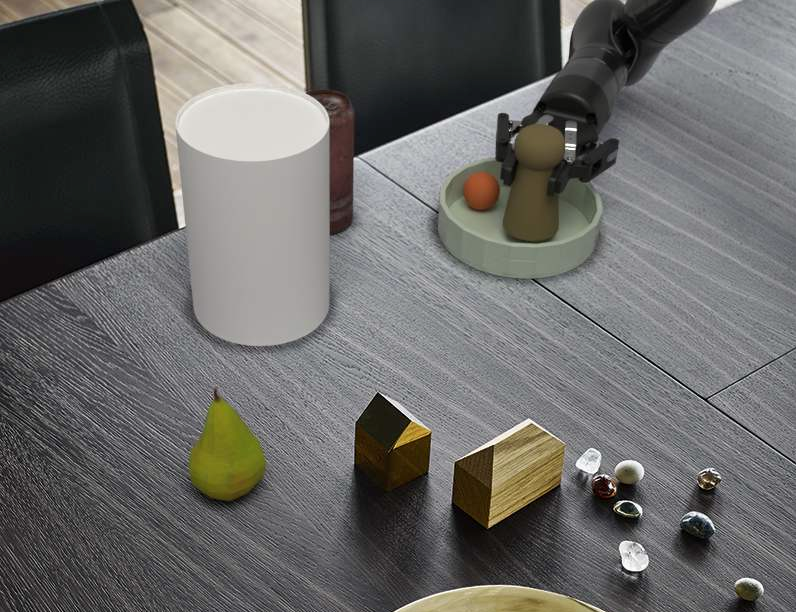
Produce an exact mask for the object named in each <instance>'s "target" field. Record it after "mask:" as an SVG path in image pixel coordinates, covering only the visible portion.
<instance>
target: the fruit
mask: <svg viewBox="0 0 796 612" xmlns="http://www.w3.org/2000/svg"><path fill="white" fill-rule="evenodd" d="M213 397H214V398H213V400H212V402H211V404H210V405H209V406H208V409H207V411H206V415H205V422H204V428H203V430H202V432H201V434H200V437H199V439H198V440H197V442H195V444H193V447H191V449H190V451H189V456H188V469H189V470H188V473H189V477H190V482H191V484H192V486H194V488H195V489H197V490H198V491H200V492H202V493H203V494H204V495H206V496H207V497H209V498H211V499H216V500H220V501H221V500H222V501H227V502H231V501H234V500H236V499H239V498H240V497H242V496H244V495H247V494H248V493H249V492H250V491H251V490H252V489H253V488H254V487H255V486H256V485H257V484H258V483H259V482H260V481H261V479H262V478H264V475H265V474H266V469H267V468H266V467H267V460H266V457H265V454H264V453H265V452H264V451H263V448H262V447H263V446H262V444H261V442H260V440H259V439H258V438H257V436H256V435H255V434H254V433H253V432H252V430H251V429H250V428H249V426H248V425H247V424H246V423H245V421H244V420H243V419H242V418H241V416H240V415H239V413H238V412H237V411H236V410H235V409H234V408H233V406H231V404H229V403H228V402H226V400H225V399H223V397H222V396H221V395H218V388H217V386H215V387H214V388H213Z"/></svg>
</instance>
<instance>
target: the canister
mask: <svg viewBox="0 0 796 612" xmlns="http://www.w3.org/2000/svg"><path fill="white" fill-rule="evenodd" d="M306 93H307V92H303V91H301V90H298V89H296V88H292V87H289V86H284V85H280V84H274V83H264V82H244V83H243V82H242V83H241V82H240V83H233V84H227V85H221V86H218V87H214V88H211V89H208V90H205V91H203V92H201V93H199V94H197V95H194V96H193V97H192V98H190V99H189V100H187V101H186V102H185V103H184V104H183V105H182V106H181V107H180V108H179V110H178V111H177V113H176V116H175V121H174V122H175V133H176V143H177V155H178V165H179V174H180V185H181V195H182V196H181V197H182V204H183V205H182V206H183V215H184V216H183V217H184V225H185V227H184V228H185V235H186V245H187V256H188V265H189V267H188V268H189V277H190V287H191V297H192V307H193V313H194V315H195V318H196V320H197V322H198V323H199V324H200V325H201V326H202V327H203V328H204V329H205V331H208V332H209V333H210V334H212V335H213V336H214V337H217V338H218V339H221V340H223V341H226V342H229V343H233V344H237V345H242V346H249V347H250V346H251V347H253V346H254V347H269V346H271V347H272V346H277V345H278V346H279V345H283V344H288V343H291V342H294V341H297V340H299V339H301V338H304V337H305V336H307V335H309V334H311V333H312V332H313V331H315V330H316V329H318V328H319V327H320V325H322V323H324V321H325V319H326V318H327V316H328V313H329V311H330V305H331V304H330V301H331V300H330V297H331V296H330V294H331V293H330V292H331V291H330V288H331V287H330V275H331V274H330V272H331V271H330V265H331V264H330V262H331V261H330V257H331V256H330V250H331V249H330V244H331V243H330V239H331V238H330V237H331V235H330V224H329V116H328V113H327V111H326V109H325V108H324V107H323V106H322V105H321V103H319V102H318V101H317V100H316V99H314V98H313V97H311V96H309V95H308V94H306Z"/></svg>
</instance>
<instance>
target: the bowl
mask: <svg viewBox="0 0 796 612" xmlns="http://www.w3.org/2000/svg"><path fill="white" fill-rule="evenodd" d="M502 163H503V162H497V161H496V160H495V157H488V158H482V159H478V160H476V161H473V162H470V163H467V164H464V165H462V166H460V167H459V168H457V169H456V170H454V171H452V172H451V173H450V174H449V175H447V177H446V179H444V182H443V183H442V185H441V187H440V188H439V198H438V213H437V233H438V236H439V239H440V241H441V243H442V245H443V246H444V247H445V249H446V250H447V251H448V252H449V253H450V254H451V255H452V256H453V257H454V258H456V259H457V260H458V261H460V262H461V263H463V264H465V265H466V266H468V267H471V268H473V269H476V270H477V271H480V272H483V273H486V274H489V275H494V276H499V277H504V278H509V279H519V280H520V279H523V280H525V279H526V280H528V279H530V280H532V279H543V278H548V277H549V278H550V277H554V276H558V275H562V274H565V273H568V272H570V271H572V270H575V269H576V268H578V267H579V266H581V265H582V264H583V263H585V262H586V261H587V260H588V259H589V258H590V257H591V256H592V254H593V252H594V250H595V248H596V245H597V242H598V240H599V233H600V229H601V223H602V218H603V213H604V210H603V203H602V196H601V195H600V194H599V192H598V190H596V188H595V186H594V185H593V184H592V183H591V181H590V182H588V183H583V182H581V181H579V178H572V181H570V182H568V184H567V185H566V187H565V189H564V191H563V192H562V193H560V194H558V201H559V230H558V231H557V233H556V234H555V235H553V236H552V237H551V238H548V239H545V240H539V241H528V240H522V239H519V238H516V237H514V236H512V235H510V234H509V233H508V232H507V231H506V230H505V229H504V227H503V225H502V224H503V217H504V213H505V209H506V206H507V202H508V198H509V194H510V190H511V186H512V184H511V186H506V185H503V180H501V179H500V173H501V164H502ZM477 172H486V173H489V174H491V175H493V176H494V177H495V178H496V180H497V181H498V183H499V187H500V194H499V198H498V200H497V202H496V203H495V204H494V205H493V206H492V207H490V208H488V209H484V210H478V209H475V208H473V207H471V206H470V205H469V204H468V203H467V202H466V200H465V198H464V195H463V188H464V184H465V182H466V180H467V179H468V178H469V177H470V176H471V175H473V174H474V173H477Z"/></svg>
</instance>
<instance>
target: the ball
mask: <svg viewBox="0 0 796 612" xmlns="http://www.w3.org/2000/svg"><path fill="white" fill-rule="evenodd" d="M499 194H500V187H499V183H498V181H497V180H496V178H495V177H494V176H493V175H491V174H489V173H486V172H477V173H474V174H473V175H471V176H470V177H469V178H468V179H467V180H466V182H465V184H464V188H463V195H464V198H465V200H466V202H467V203H468V204H469V205H470V206H471V207H473V208H475V209H478V210H484V209H488V208H490V207H492V206H493V205H494V204H495V203H496V202H497V200H498V198H499Z"/></svg>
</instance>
